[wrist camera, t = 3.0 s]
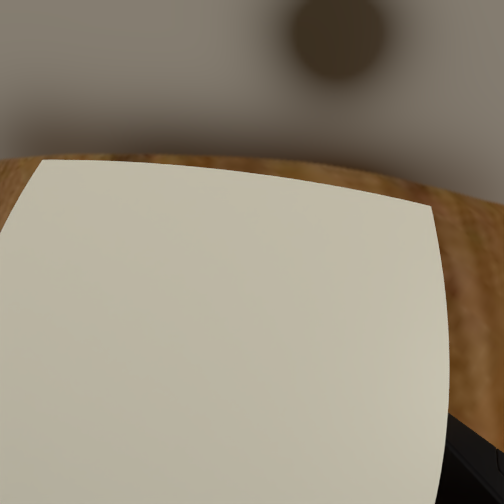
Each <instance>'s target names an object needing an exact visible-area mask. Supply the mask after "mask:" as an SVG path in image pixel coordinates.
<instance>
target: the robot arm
mask: <svg viewBox="0 0 504 504" xmlns="http://www.w3.org/2000/svg"><path fill="white" fill-rule="evenodd" d="M435 504H504V453H503V452H502V451H500V450H499V449H496V447H495V446H493V445H492V444H491V443H489V442H488V441H486V440H485V439H484V438H482V437H481V436H480V435H478V434H477V433H475V432H474V431H473V430H471V429H470V428H469V427H467V426H466V425H464V424H463V423H462V422H460V421H459V420H458V419H456V418H455V417H453V416H452V415H451V414H449V413H448V417H447V429H446V439H445V447H444V455H443V462H442V469H441V475H440V480H439V486H438V491H437V496H436V500H435Z"/></svg>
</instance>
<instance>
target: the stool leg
mask: <svg viewBox="0 0 504 504" xmlns="http://www.w3.org/2000/svg"><path fill="white" fill-rule="evenodd" d="M448 400H449V337H448V319H447V307H446V296H445V287H444V279H443V271H442V264H441V257H440V251H439V245H438V239H437V234H436V229H435V224H434V219H433V214H432V210H431V206H427V205H423V204H419V203H415V202H410V201H406V200H402V199H397V198H393V197H388V196H383V195H379V194H374V193H369V192H364V191H359V190H354V189H348V188H343V187H337V186H332V185H326V184H320V183H315V182H308V181H302V180H296V179H289V178H283V177H276V176H269V175H261V174H254V173H246V172H238V171H229V170H220V169H211V168H201V167H191V166H179V165H167V164H153V163H138V162H119V161H91V160H42V162H41V163H40V165H39V166H38V168H37V169H36V171H35V172H34V174H33V175H32V177H31V179H30V180H29V182H28V183H27V185H26V187H25V188H24V190H23V192H22V194H21V195H20V197H19V199H18V201H17V202H16V204H15V206H14V208H13V210H12V211H11V213H10V215H9V217H8V219H7V221H6V223H5V225H4V227H3V229H2V231H1V233H0V504H435V500H436V496H437V491H438V486H439V480H440V475H441V469H442V462H443V455H444V447H445V439H446V429H447V417H448Z"/></svg>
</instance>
